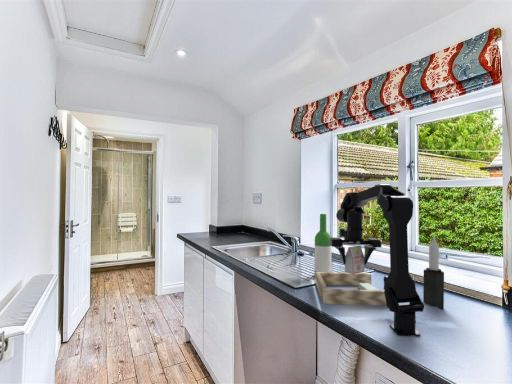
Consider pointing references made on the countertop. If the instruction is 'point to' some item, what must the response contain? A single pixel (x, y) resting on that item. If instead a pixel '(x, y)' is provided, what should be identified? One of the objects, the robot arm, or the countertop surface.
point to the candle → (433, 279)
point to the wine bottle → (322, 248)
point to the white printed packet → (354, 260)
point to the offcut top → (366, 286)
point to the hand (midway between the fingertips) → (354, 264)
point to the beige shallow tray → (347, 294)
